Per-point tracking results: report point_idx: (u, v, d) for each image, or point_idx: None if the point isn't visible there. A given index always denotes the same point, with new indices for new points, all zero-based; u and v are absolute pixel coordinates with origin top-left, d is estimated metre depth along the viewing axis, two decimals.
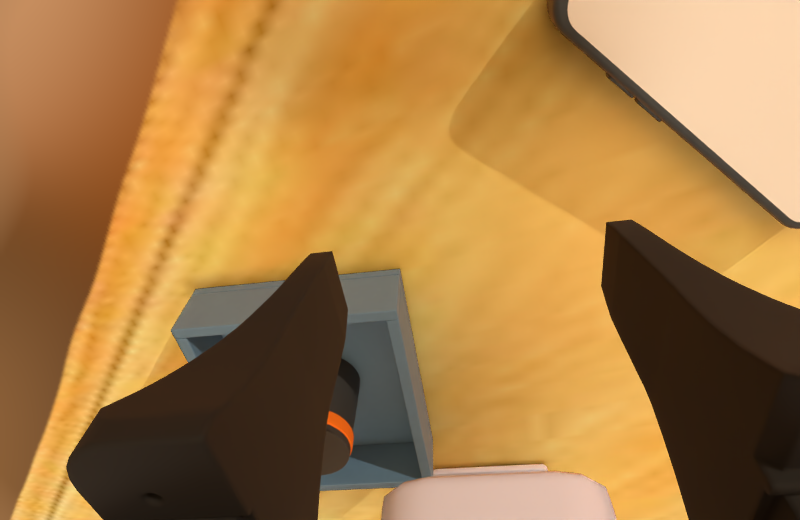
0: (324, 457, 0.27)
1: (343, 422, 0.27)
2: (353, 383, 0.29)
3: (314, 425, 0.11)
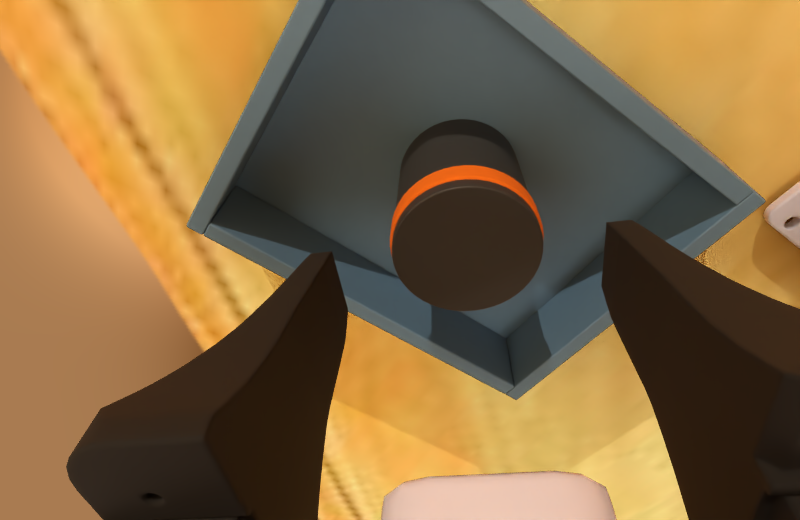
0: (497, 245, 0.14)
1: (482, 170, 0.14)
2: (483, 133, 0.16)
3: (314, 425, 0.11)
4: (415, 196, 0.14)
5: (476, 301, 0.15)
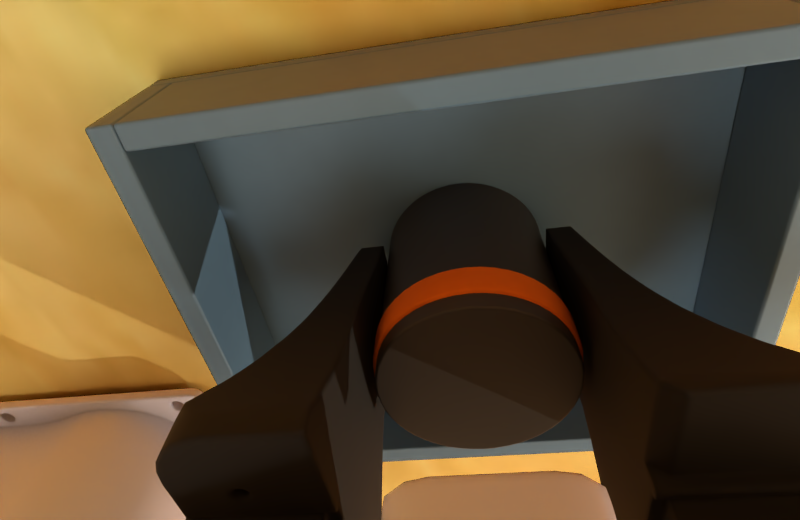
0: (456, 410, 0.11)
1: None
2: None
3: (376, 421, 0.11)
4: None
5: (407, 350, 0.10)
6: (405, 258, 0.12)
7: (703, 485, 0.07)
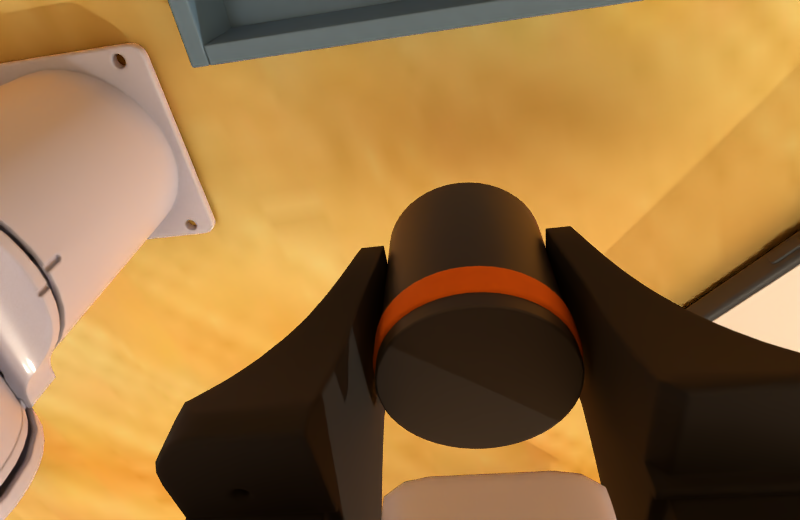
0: (456, 410, 0.11)
1: None
2: None
3: (376, 421, 0.11)
4: None
5: (407, 350, 0.10)
6: (405, 258, 0.12)
7: (703, 485, 0.07)
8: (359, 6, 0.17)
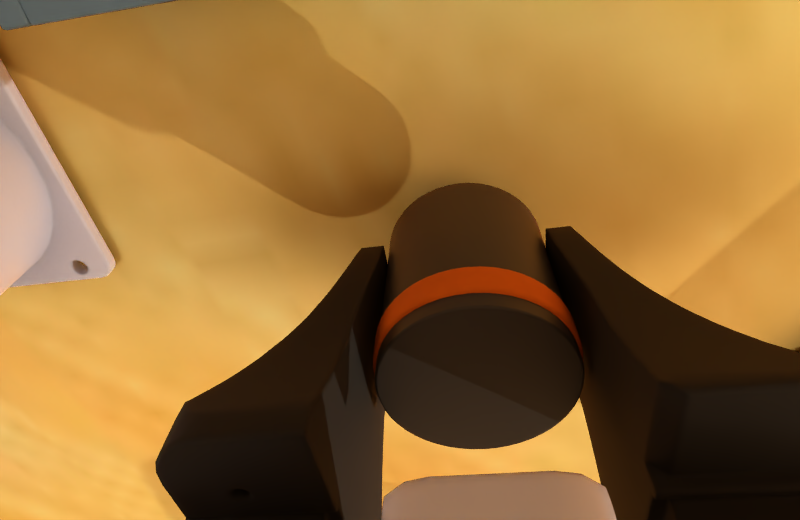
0: (456, 410, 0.11)
1: None
2: None
3: (376, 421, 0.11)
4: None
5: (407, 350, 0.10)
6: (405, 258, 0.12)
7: (703, 485, 0.07)
8: None
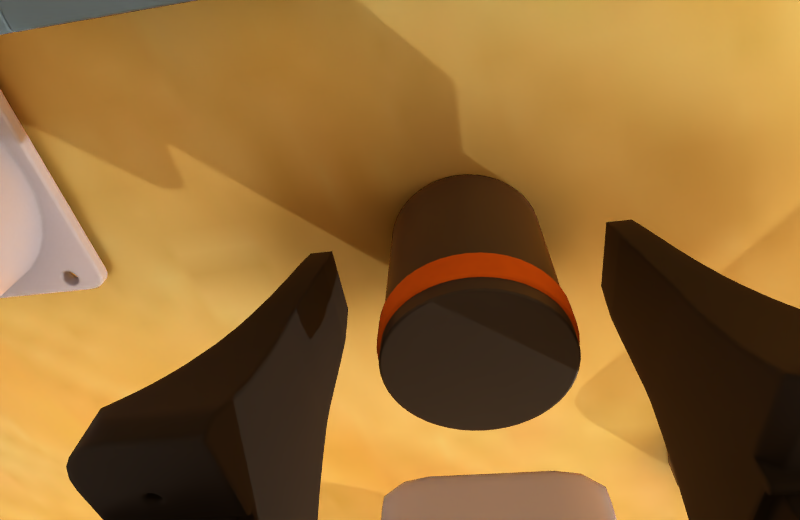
0: (457, 392, 0.11)
1: None
2: None
3: (314, 425, 0.11)
4: None
5: (410, 332, 0.10)
6: (408, 246, 0.12)
7: None
8: None
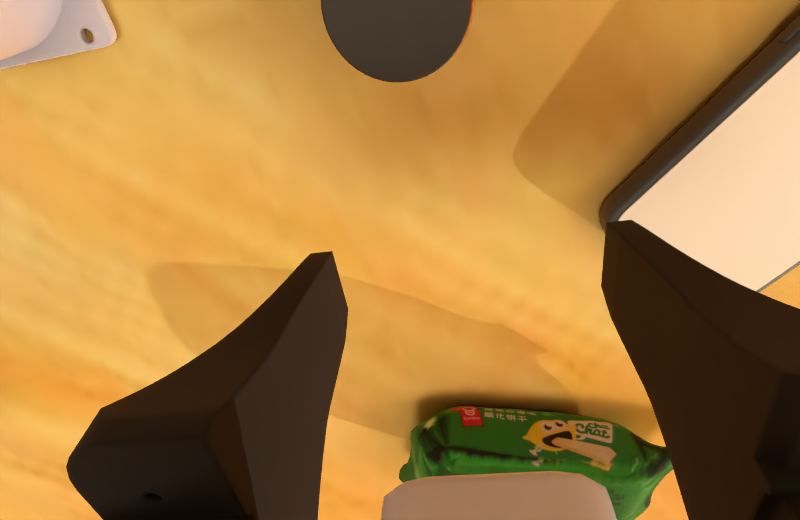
0: (383, 35, 0.15)
1: None
2: None
3: (314, 425, 0.11)
4: None
5: None
6: None
7: None
8: None
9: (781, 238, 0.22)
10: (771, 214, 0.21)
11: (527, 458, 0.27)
